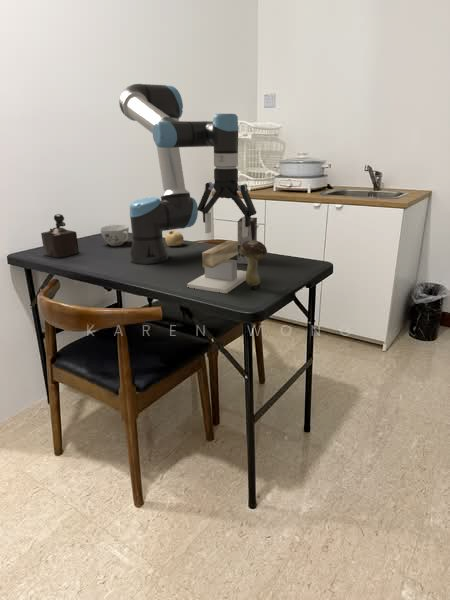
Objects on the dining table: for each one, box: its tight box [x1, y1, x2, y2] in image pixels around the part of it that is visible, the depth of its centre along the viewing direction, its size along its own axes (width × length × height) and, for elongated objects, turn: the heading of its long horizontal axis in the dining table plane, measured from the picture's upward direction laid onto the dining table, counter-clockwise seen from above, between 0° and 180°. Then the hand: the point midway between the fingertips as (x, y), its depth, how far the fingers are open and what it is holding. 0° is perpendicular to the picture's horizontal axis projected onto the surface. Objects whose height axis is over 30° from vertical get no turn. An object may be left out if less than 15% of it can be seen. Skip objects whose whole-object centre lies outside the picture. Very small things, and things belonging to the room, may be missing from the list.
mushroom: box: [240, 240, 268, 290], centre depth 129 cm, size 9×9×15 cm
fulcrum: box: [186, 259, 247, 294], centre depth 138 cm, size 14×20×7 cm
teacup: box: [99, 224, 130, 247], centre depth 189 cm, size 15×12×8 cm
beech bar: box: [201, 239, 238, 268], centre depth 136 cm, size 4×18×4 cm, turn 153°
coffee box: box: [237, 217, 258, 265], centre depth 159 cm, size 9×6×16 cm
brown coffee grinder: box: [40, 213, 80, 259], centre depth 172 cm, size 16×11×18 cm
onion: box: [164, 230, 184, 247], centre depth 186 cm, size 8×8×7 cm
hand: (226, 234), depth 138 cm, fingers open, 13 cm apart
